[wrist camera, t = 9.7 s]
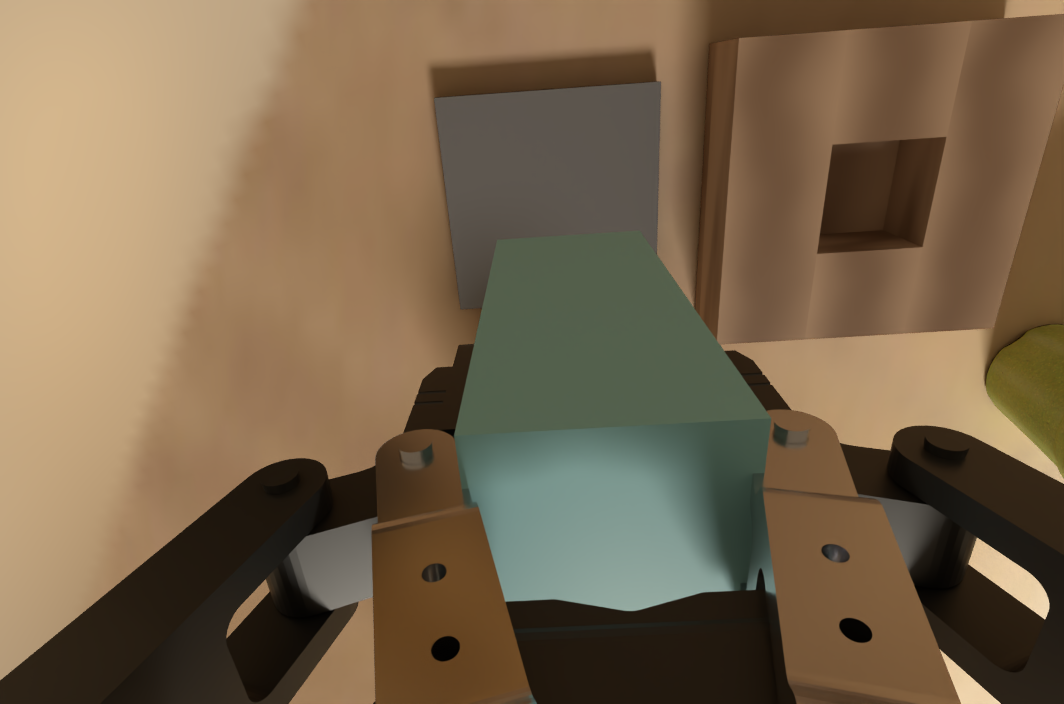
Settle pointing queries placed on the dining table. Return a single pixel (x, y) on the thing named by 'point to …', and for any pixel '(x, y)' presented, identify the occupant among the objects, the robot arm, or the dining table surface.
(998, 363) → the plant pot
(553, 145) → the mat
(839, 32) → the pocket block
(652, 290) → the peg
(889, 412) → the dining table surface
